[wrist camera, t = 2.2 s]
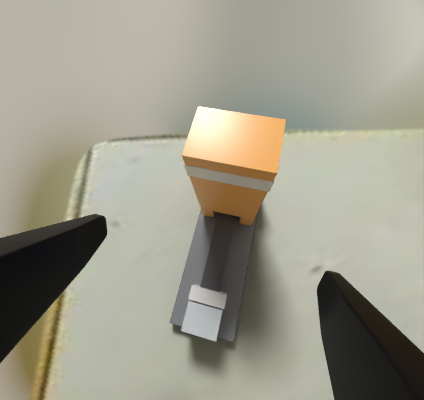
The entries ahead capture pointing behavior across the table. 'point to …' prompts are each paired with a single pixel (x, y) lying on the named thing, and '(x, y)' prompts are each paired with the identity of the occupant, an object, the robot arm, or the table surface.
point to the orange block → (232, 160)
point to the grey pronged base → (214, 277)
